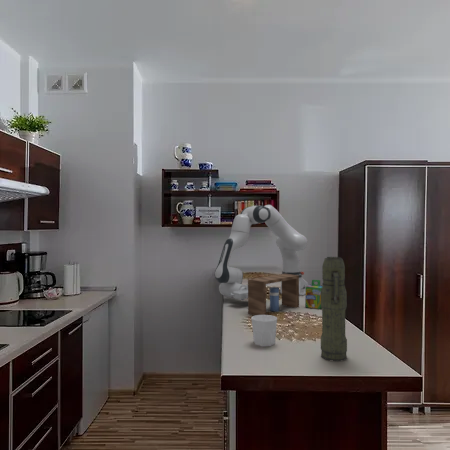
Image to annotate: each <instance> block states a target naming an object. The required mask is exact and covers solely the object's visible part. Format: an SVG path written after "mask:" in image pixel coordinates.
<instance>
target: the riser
mask: <svg viewBox="0 0 450 450" xmlns="http://www.w3.org/2000/svg"><path fill="white" fill-rule="evenodd" d="M281 281H282V294H281V306H284V307H290V308H295V309H298V308H300V295H299V275H292V274H282V273H281V274H274V275H268V276H263V277H262V276H261V277H256V278H255V277H254V278H250V279H247V285H248V298H247V313H248V315H253V316H256V315H267V285H270V284H274V283H275V284H276V283H279V282H280V283H281Z"/></svg>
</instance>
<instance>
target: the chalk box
mask: <svg viewBox="0 0 450 450" xmlns="http://www.w3.org/2000/svg"><path fill="white" fill-rule="evenodd" d="M316 283H317V284H316ZM321 290H322V285H321V280H320V279H311V284H308V286H306V294H305V297H304V298H305V304H304V306H305V308H308V309H315V310H322V308H321Z"/></svg>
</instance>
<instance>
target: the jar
mask: <svg viewBox="0 0 450 450" xmlns="http://www.w3.org/2000/svg"><path fill="white" fill-rule="evenodd" d="M269 311H270V312H280V287H276V286H270V287H269Z"/></svg>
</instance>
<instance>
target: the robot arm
mask: <svg viewBox="0 0 450 450" xmlns="http://www.w3.org/2000/svg"><path fill="white" fill-rule="evenodd" d="M263 223H265V225H266V226H267V227H268V229H269V230H270V231H271V232H272V233H273V235H274V236H276V238H275V244H276V246H277V247H278V249H279V251H280V255H281V258H282V271H281V272H282V273H281V274H292V275H299V296H304V295H305V296H306V286H308V285H309V282H308V281H306V280H305V279H304V278H303V276H304V275H305V271H301V259H300V257H299V256H298V254H297V252H299V251H303V250H305V249H306V248H307V246H308V238H307V237H306V236H305V235H303V234H302V233H300V232H298V231H297V230H296V229H295V228H294V227H292V225H290V224H289V223H288V222H287V221H286V219H285V218H284V217H283V215H281V213H280V212H279V211H278V210H277V209H276V208H275V207H274V206H273V205H272V204H266V205H252V206H248V207H244V208H243V209H242V211H241V212H240V213H239V214H237V215H235V217H234V219H233V221H232V224H231V230H230V235H229V237H228V239H226V240H225V242H224V244H223V246H222V251H221V253H220V257H219V259H218V263H217V266H216V268H215V270H214V278H215V280H216V281H217V282H218V283H219V285H218V291H219V293H220V294H221V295H222V296H224V297H226V298H230V299H235V300H240V301H244V300H246V299H247V300H248V284H243V280H244V279H243V278H244V272H243V270H242V269H241V268H239V267H234V266H229V264H230V261H231V260H230V259H231V257H232V254H233V252H234V251H235V250H236V249H240V248H242V247H245V246H246V244H247V243H248V241H249V238H250V230H251V227H252V225H256V224H263ZM280 283H281V284H280V289H279V294H281V295H282V281H281V282H280Z"/></svg>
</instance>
